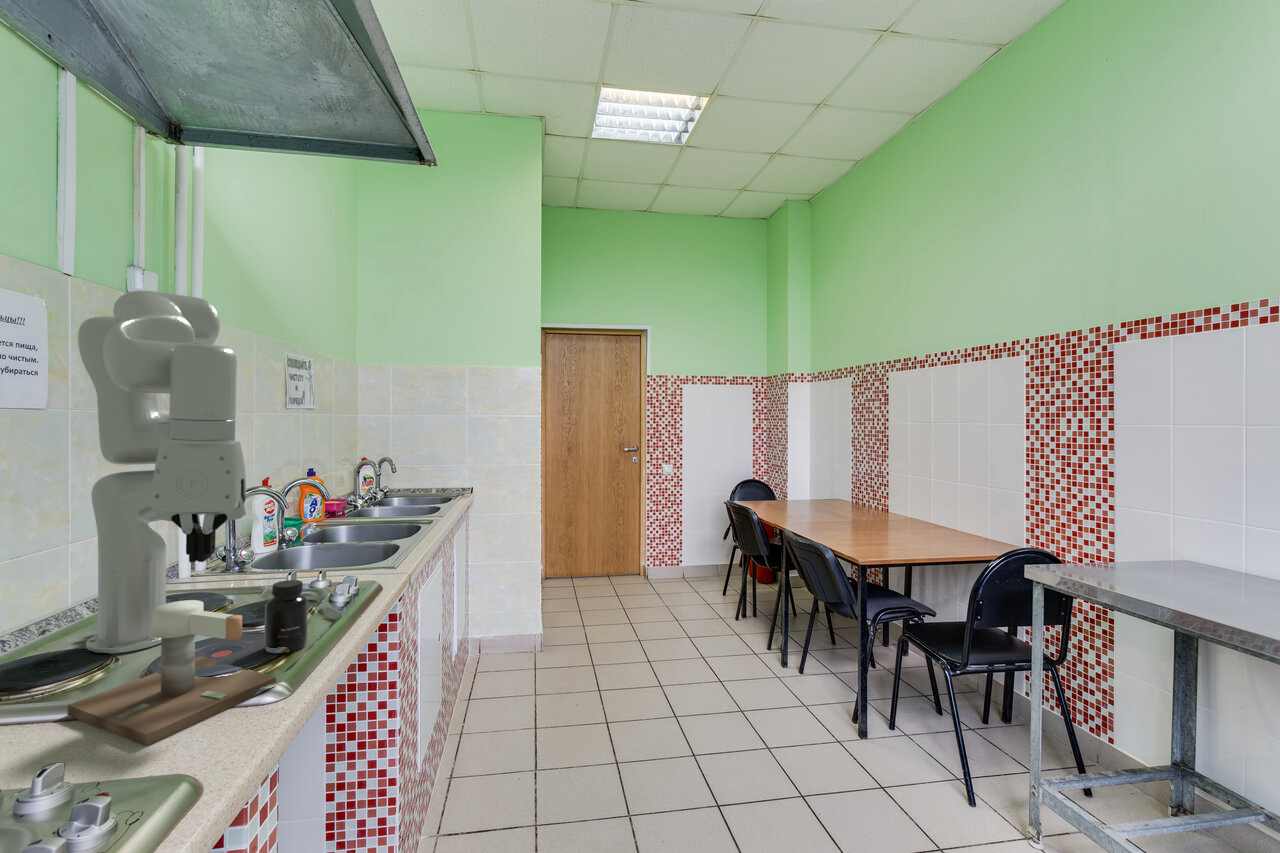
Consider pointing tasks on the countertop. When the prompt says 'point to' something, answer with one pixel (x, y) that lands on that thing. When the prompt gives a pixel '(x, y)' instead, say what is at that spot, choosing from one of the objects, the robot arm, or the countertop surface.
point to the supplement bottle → (286, 616)
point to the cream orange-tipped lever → (194, 621)
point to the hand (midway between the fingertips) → (200, 559)
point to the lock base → (168, 696)
